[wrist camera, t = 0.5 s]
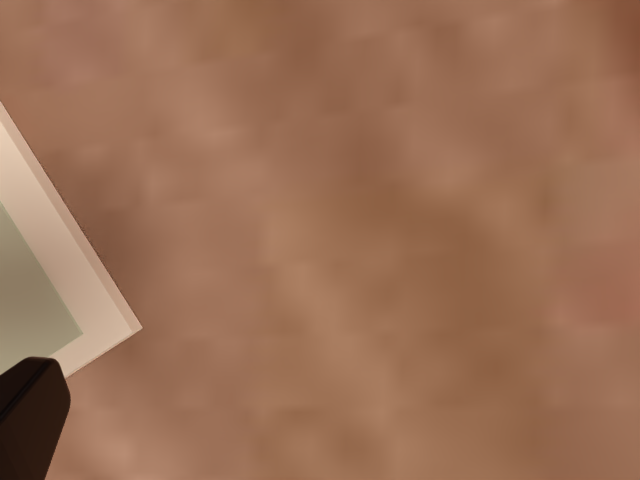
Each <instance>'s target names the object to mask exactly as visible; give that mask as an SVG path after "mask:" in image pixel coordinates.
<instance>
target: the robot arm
mask: <svg viewBox="0 0 640 480" xmlns="http://www.w3.org/2000/svg"><path fill="white" fill-rule="evenodd" d="M70 401H71V399H70V392H69V389H68V387H67V384H66V381H65V378H64V375H63V372H62V369H61V366H60V364H59V362H58V361H57V360H56V359H54V358H47V357H37V356H30V357H27V358H25V359H23V360H21V361H20V362H18V363H17V364H15V365H14V366H12V367H11V368H9V369H8V370H7V371H5V372H4V373H2V374H1V375H0V480H45V477H46V475H47V472H48V469H49V466H50V463H51V460H52V457H53V455H54V452H55V449H56V446H57V443H58V440H59V438H60V435H61V432H62V429H63V426H64V423H65V420H66V418H67V415H68V412H69V408H70Z"/></svg>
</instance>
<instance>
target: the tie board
mask: <svg viewBox="0 0 640 480" xmlns="http://www.w3.org/2000/svg"><path fill="white" fill-rule="evenodd" d="M141 329H143V327H142V326H141V324H140V323H139V321H138V320H137V318H136V316H135V315H134V313H133V312H132V310H131V308H130V307H129V305H128V304H127V302H126V300H125V299H124V297H123V296H122V294H121V292H120V291H119V289H118V288H117V286H116V285H115V283H114V281H113V280H112V278H111V277H110V275H109V273H108V272H107V270H106V269H105V267H104V265H103V264H102V262H101V261H100V259H99V257H98V256H97V254H96V253H95V251H94V250H93V248H92V246H91V245H90V243H89V242H88V240H87V238H86V237H85V235H84V234H83V232H82V230H81V229H80V227H79V226H78V224H77V222H76V221H75V219H74V218H73V216H72V215H71V213H70V211H69V210H68V208H67V207H66V205H65V203H64V202H63V200H62V199H61V197H60V195H59V194H58V192H57V191H56V189H55V187H54V186H53V184H52V183H51V181H50V180H49V178H48V176H47V175H46V173H45V172H44V170H43V168H42V167H41V165H40V164H39V162H38V160H37V159H36V157H35V156H34V154H33V152H32V151H31V149H30V148H29V146H28V145H27V143H26V141H25V140H24V138H23V137H22V135H21V133H20V132H19V130H18V129H17V127H16V125H15V124H14V122H13V121H12V119H11V117H10V116H9V114H8V113H7V111H6V110H5V108H4V106H3V105H2V103H1V102H0V375H1V374H2V373H4V372H5V371H7V370H8V369H9V368H11V367H12V366H14V365H15V364H17V363H18V362H20V361H21V360H23V359H25V358H27V357H30V356H37V357H47V358H54V359H56V360H57V361H58V362H59V364H60V366H61V369H62V372H63V375H64V378H67V377H69V376H70V375H72V374H73V373H75V372H76V371H78V370H79V369H81V368H82V367H84V366H85V365H87V364H89V363H90V362H92V361H93V360H95V359H96V358H98V357H99V356H101V355H102V354H104V353H106V352H107V351H109V350H110V349H112V348H113V347H115V346H116V345H118V344H119V343H121V342H123V341H124V340H126V339H127V338H129V337H130V336H132V335H133V334H135V333H136V332H138V331H139V330H141Z"/></svg>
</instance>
